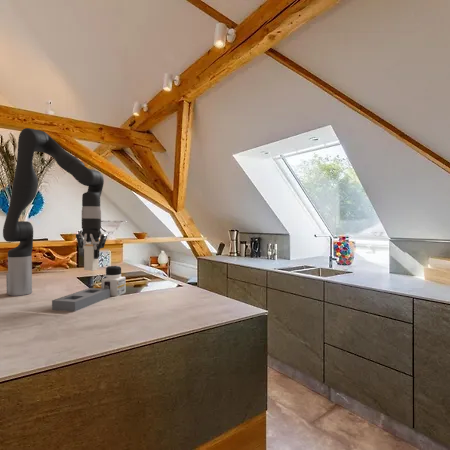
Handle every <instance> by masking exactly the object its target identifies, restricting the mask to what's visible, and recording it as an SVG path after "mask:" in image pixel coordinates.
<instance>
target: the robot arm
mask: <svg viewBox="0 0 450 450" xmlns="http://www.w3.org/2000/svg"><path fill="white" fill-rule="evenodd" d="M17 140H18V141H17V155H16V166H15V172H14V178H13V182H12V186H11V187H12V188H11V194H10V199H9V205H8V209H7V214H6V217H5V221H4V223H3V227H2V237H3V239H4V241H6V242H8V243H9V242H10V243H13V242H14V243H15V242H17V243H18V242H19V244H18V245H16V247H14V248H11V249H9V250H8V251H7V273H6V274H5V275H6V276H5V277H6V278H5V279H6V295H8V296H11V297H12V296H13V297H14V296H15V297H16V296H25V295H29V294H32V293H33V260H32V258H33V257H32V253H33V249H34V248H33V247H34V227H33V226H34V225H33V224H32V223H31V222H30V221H27V220H23V221H22V220H21V221H19V220H20V217H21V215H22V213H23V212H24V210H25V209H26V208H27V207H28V206H29V205H30V204H31V203H32V202H33V201H34V200H35V198H36V196H37V191H38V186H39V180H38V177H37V174H36V171H35V169H34V164H33V162H34V154H35V152H37V153H43V154H47V155H49V156H50V157H52V158H53V159H54V160H55V162H56V164H57V166H59V167H60V168H61V169H62V170H64V171H66V172H67V173H69V174H70V175H71V176H72V177H73V178H74V179H75V180H76V181H77V182H78V183H79V184H81V185H82V186H86V187H87V191H86V192H84V193H83V194H82V197H81V200H82V202H81V206H82V207H81V229H82V231H81V232H80V233H76V234H75V237H76V241H77V245H78V248H80V249H82V251H83V257H84V246H86V244H93V246H94V249H95V250H94V259H98V258H100V250H101V249H104V248H105V245H106V242H107V238H108V234H104V233H102V231H101V228H102V211H101V196H102V192H103V188H104V183H105V182H104V176H103V174H102V172H100V171H98V170H95V169H91V168H88V167H87V166H86V165H85V163H84V162H83V161H81V160H80V159H78V158H77V157H76V156H74V155H72V154H71V153H70V152H68V151H67V150H66V149H64V148H63V147H62V146H61V145H60V144H58V142H56V141H55V139H53V138H52V137H51V136H50V134H48V133H47V132H45V131H42V130H39V129H34V128H30V127H28V128H27V127H25V128H23V129H22V130H21V131H20V132H19V135H18V139H17Z"/></svg>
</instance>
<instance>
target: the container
mask: <svg viewBox="0 0 450 450" xmlns="http://www.w3.org/2000/svg"><path fill="white" fill-rule="evenodd" d="M126 280H127V279H126V276H122V267H121V266H120V265H109V266H107V267H106V268H105V278H102V279H101V281H100V282H101V288H100V289H110V297H118V296H120V295H121V296H122V295H123V294H125V293H126V292H127V291H126V285H127V284H126Z"/></svg>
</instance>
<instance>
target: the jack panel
mask: <svg viewBox="0 0 450 450" xmlns="http://www.w3.org/2000/svg"><path fill="white" fill-rule="evenodd" d="M109 298H111V296H110V289H101V288H99V287H97V288H96V287H95V288H94V287H89V288H86V289H85V288H84V289H83V290H80V291H76V292H73V293H71V294H66V295H64V296H60V297H59V298H54V299H52V300H51V310H52V311H64V312H77V311H81V310H83V309H85V308H87V307H90V306H92V305H94V304H97V303H99V302H102V301H104V300H107V299H109Z"/></svg>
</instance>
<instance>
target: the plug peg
mask: <svg viewBox="0 0 450 450" xmlns="http://www.w3.org/2000/svg"><path fill="white" fill-rule="evenodd" d="M94 250H95V249H94V246H93V244H92V243H90V244H86V246H84V256H83V271H96V270H99V268H100V267H99V264H100V263H99V260H100V259H99V258H100V257H99V258H98V259H94Z"/></svg>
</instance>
